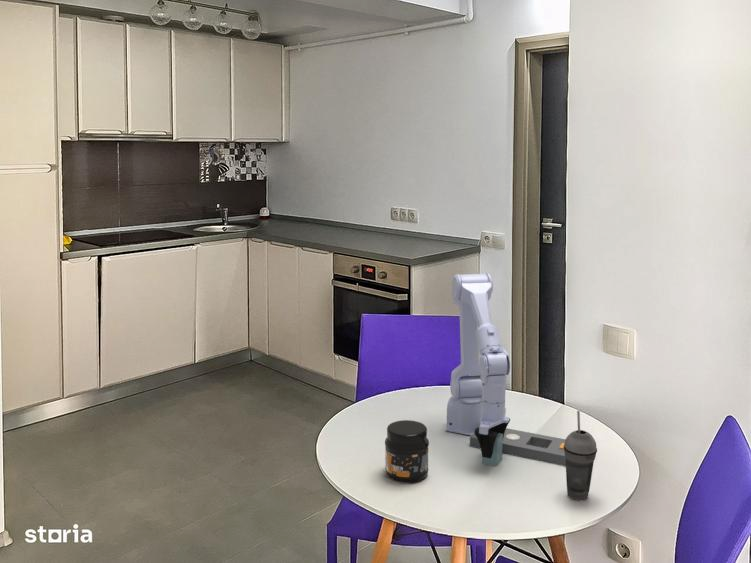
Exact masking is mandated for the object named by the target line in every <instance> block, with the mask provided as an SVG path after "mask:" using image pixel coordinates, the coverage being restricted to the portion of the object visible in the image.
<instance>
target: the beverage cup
mask: <svg viewBox="0 0 751 563" xmlns="http://www.w3.org/2000/svg"><path fill="white" fill-rule="evenodd" d="M576 412H577V414H576V416H577V430H574V431H572V432H570V433H568V435H567V436H566V438H565V439H566V440H565V444H564V453H565V457H566V466H565V473H566V474H565V478H566V492H567V494H566V496H567V497H568V498H569V499H571V500H573V501H577V502H584V501H586V500H588V499H589V494H590V489H591V482H592V476H593V471H594V470H593V469H594V461H595V460H596V455H597V453H598V448H597V443H596V440H595V438H594V436H592V434H591V433H589V432H588V431H586V430H583V429H581V416H580V410H577V411H576Z"/></svg>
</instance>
